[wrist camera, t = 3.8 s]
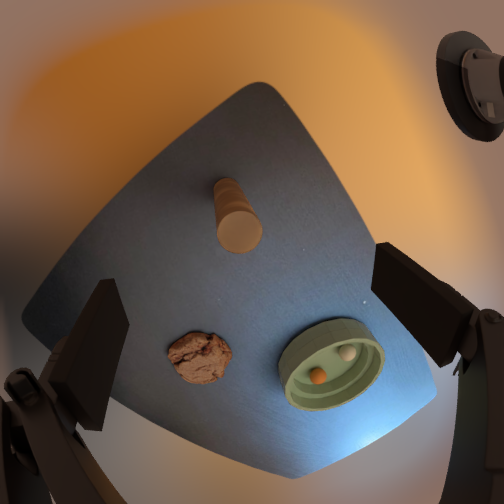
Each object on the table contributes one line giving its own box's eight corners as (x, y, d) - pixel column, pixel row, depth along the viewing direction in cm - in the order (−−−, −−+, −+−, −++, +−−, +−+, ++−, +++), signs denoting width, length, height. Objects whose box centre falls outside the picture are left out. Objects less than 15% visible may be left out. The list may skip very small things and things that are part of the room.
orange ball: (324, 363, 47) (329, 374, 44) (322, 374, 48) (327, 385, 46) (308, 366, 47) (313, 378, 44) (307, 377, 48) (311, 389, 45)
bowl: (377, 306, 45) (394, 327, 39) (361, 375, 52) (373, 395, 47) (276, 326, 43) (285, 353, 38) (278, 395, 50) (284, 419, 45)
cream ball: (353, 338, 46) (360, 349, 43) (350, 351, 47) (357, 362, 44) (337, 342, 45) (343, 354, 43) (335, 354, 47) (341, 366, 44)
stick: (239, 176, 33) (261, 208, 20) (241, 202, 35) (263, 251, 21) (212, 179, 33) (214, 213, 19) (214, 205, 34) (219, 256, 21)
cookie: (180, 379, 45) (179, 392, 42) (161, 334, 41) (159, 347, 38) (236, 372, 46) (238, 385, 43) (225, 325, 42) (227, 338, 39)
